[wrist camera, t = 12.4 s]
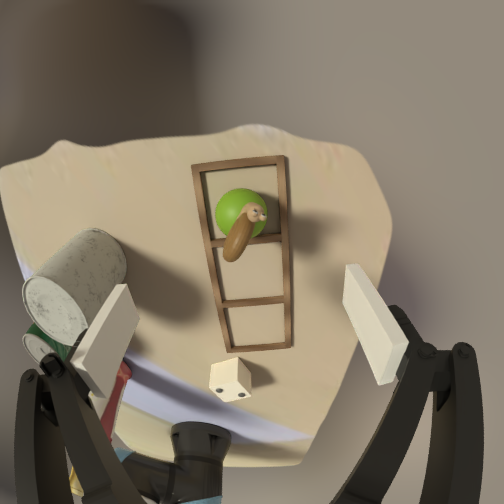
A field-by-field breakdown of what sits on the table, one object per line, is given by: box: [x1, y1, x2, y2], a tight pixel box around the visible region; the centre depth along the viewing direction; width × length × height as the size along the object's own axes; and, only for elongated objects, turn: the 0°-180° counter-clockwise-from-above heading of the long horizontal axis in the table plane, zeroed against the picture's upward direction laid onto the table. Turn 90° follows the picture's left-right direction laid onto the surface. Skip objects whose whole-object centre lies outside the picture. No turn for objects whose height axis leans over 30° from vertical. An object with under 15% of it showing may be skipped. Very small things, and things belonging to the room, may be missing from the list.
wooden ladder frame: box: [191, 155, 291, 353], centre depth 35 cm, size 28×10×1 cm, turn 5°
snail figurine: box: [215, 188, 267, 262], centre depth 26 cm, size 5×6×12 cm
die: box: [209, 357, 252, 402], centre depth 42 cm, size 5×5×5 cm
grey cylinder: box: [22, 228, 127, 346], centre depth 29 cm, size 10×10×12 cm
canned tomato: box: [22, 322, 73, 364], centre depth 34 cm, size 8×8×11 cm
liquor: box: [69, 360, 132, 497], centre depth 32 cm, size 7×7×28 cm
